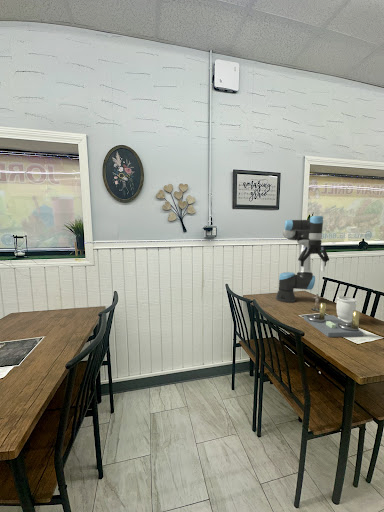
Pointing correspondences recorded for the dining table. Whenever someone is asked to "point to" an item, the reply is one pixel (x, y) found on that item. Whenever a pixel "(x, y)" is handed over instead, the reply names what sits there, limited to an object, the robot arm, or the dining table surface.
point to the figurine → (316, 302)
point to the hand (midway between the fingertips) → (312, 271)
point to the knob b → (354, 322)
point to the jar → (345, 308)
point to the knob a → (321, 316)
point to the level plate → (331, 330)
